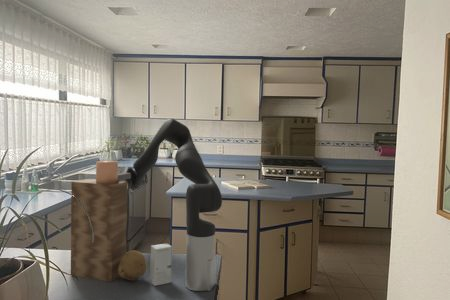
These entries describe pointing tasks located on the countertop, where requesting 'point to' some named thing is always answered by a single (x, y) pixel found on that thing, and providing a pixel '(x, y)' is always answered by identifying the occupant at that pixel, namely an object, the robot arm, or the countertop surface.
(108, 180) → the peach cylinder
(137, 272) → the natural sponge
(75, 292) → the countertop surface
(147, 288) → the countertop surface
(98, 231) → the stand
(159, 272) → the skincare box
